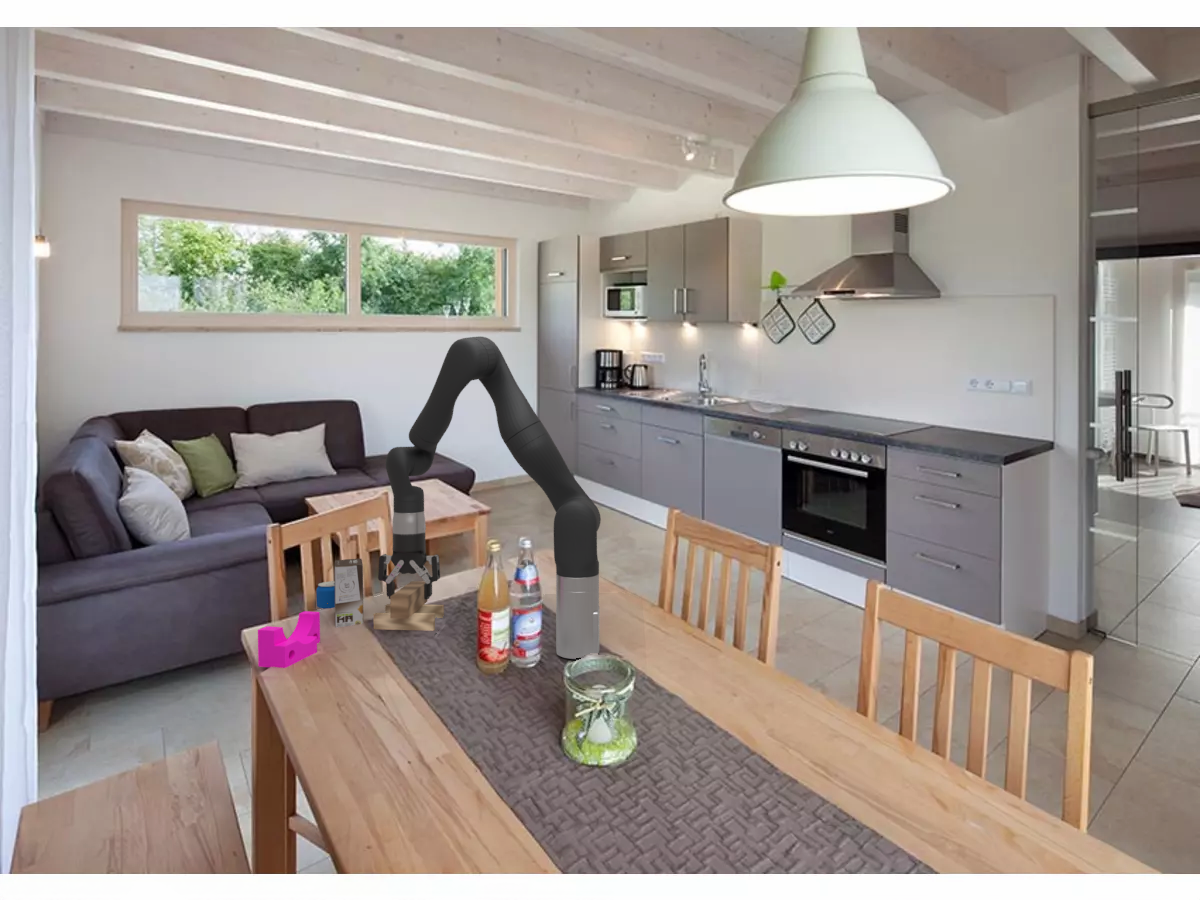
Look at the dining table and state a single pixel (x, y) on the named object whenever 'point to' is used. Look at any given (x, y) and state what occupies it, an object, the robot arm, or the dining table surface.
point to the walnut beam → (407, 600)
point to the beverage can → (326, 595)
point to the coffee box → (348, 592)
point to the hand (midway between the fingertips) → (409, 598)
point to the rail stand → (410, 619)
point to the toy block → (289, 642)
